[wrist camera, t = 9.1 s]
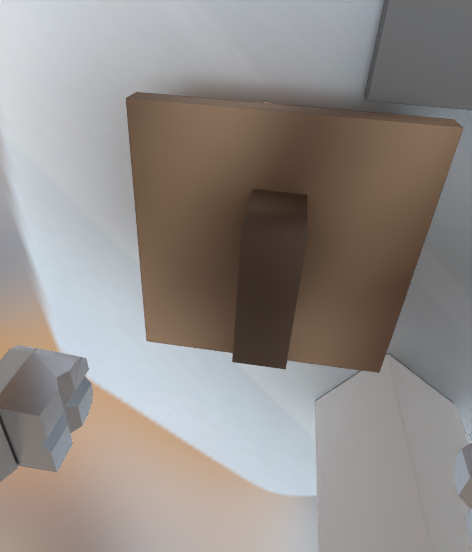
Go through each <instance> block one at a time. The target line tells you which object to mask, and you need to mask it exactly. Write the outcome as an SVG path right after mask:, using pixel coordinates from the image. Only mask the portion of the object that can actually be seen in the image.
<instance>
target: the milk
mask: <svg viewBox="0 0 472 552" xmlns="http://www.w3.org/2000/svg"><path fill="white" fill-rule="evenodd" d="M315 424H316V468H317V507H318V508H317V512H318V550H319V551H318V552H472V543H471V539H470V536H469V532H468V529H467V525H466V521H465V516H466V514H467V512H468V510H469V507H468V506H467V505H466V504H465V502H464V501H463V500H462V499H461V498H460V497H459V496H458V492H457V488H456V485H455V477H454V467H455V460H456V457H457V455H458V453H459V451H460V449H461V448H463V447H465V446H467V445H469V441H468V439H467V436H466V433H465V431H464V428H463V425H462V422H461V420H460V417H459V414H458V411H457V409H456V406H455V405H454V404H453V403H452V402H451V401H449V400H448V399H447V398H445V397H444V396H443V395H441V394H440V393H439V392H437V391H436V390H435V389H433V388H432V387H431V386H430V385H428V384H427V383H426V382H424V381H423V380H422V379H420V378H419V377H418V376H416V375H415V374H414V373H412V372H411V371H410V370H409V369H407V368H406V367H405V366H403V365H402V364H401V363H399V362H398V361H397V360H395V359H394V358H393V357H391V356H390V355H389V354H386V355H385V358H384V361H383V364H382V367H381V370H380V373H377V372H369V371H360V372H359V373H357V374H356V375H354V376H353V377H351V378H350V379H348V380H347V381H345V382H344V383H342V384H341V385H339V386H338V387H336V388H335V389H333V390H332V391H330V392H329V393H327V394H325V395H324V396H322V397H321V398H319V399H318V400H316V402H315Z"/></svg>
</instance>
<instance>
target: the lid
mask: <svg viewBox="0 0 472 552" xmlns="http://www.w3.org/2000/svg"><path fill="white" fill-rule="evenodd" d="M126 106H127V118H128V130H129V141H130V153H131V165H132V176H133V188H134V200H135V211H136V223H137V235H138V246H139V258H140V270H141V282H142V293H143V305H144V317H145V328H146V340H147V341H149V342H156V343H164V344H171V345H178V346H186V347H193V348H200V349H208V350H215V351H222V352H230V353H233V360H232V362H237V363H244V364H251V365H258V366H266V367H273V368H280V369H286V364H287V360H289V361H296V362H303V363H311V364H318V365H325V366H333V367H340V368H347V369H355V370H362V371H369V372H377V373H380V370H381V367H382V364H383V361H384V358H385V355H386V352H387V349H388V347H389V344H390V341H391V338H392V335H393V332H394V329H395V326H396V323H397V320H398V317H399V314H400V312H401V309H402V306H403V303H404V300H405V297H406V294H407V291H408V288H409V285H410V282H411V279H412V277H413V274H414V271H415V268H416V265H417V262H418V259H419V256H420V253H421V250H422V247H423V244H424V241H425V239H426V236H427V233H428V230H429V227H430V224H431V221H432V218H433V215H434V212H435V209H436V206H437V204H438V201H439V198H440V195H441V192H442V189H443V186H444V183H445V180H446V177H447V174H448V171H449V168H450V166H451V163H452V160H453V157H454V154H455V151H456V148H457V145H458V142H459V139H460V136H461V133H462V131H463V127H462V126H461V125H460V124H458V123H457V122H456V121H455V120H454V119H443V118H432V117H420V116H409V115H397V114H385V113H374V112H362V111H350V110H339V109H327V108H316V107H304V106H292V105H281V104H269V103H257V102H246V101H234V100H223V99H211V98H199V97H188V96H176V95H164V94H153V93H141V92H136V93H134V94H132V95H131V96H129V97H127V98H126Z"/></svg>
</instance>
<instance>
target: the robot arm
mask: <svg viewBox="0 0 472 552" xmlns="http://www.w3.org/2000/svg"><path fill="white" fill-rule="evenodd" d="M88 370H89V368H88V364H87V360H86V358H83V357H79V356H74V355H69V354H64V353H59V352H53V351H49V350H44V349H37V348H32V347H27V346H21V345H17V346H15V347H13V348H11V349H10V350H9V351H8V352H7V353H6V354H5V356H3V358H2V359H1V360H0V482H1V481H2V480H3V479H4V478H6V477H7V476H8V475H9V474H11V473H12V472H13V471H15V470H16V469H17V468H18V467H17V466H24V467H29V468H36V469H41V470H47V471H54V472H57V471H58V469H59V468H60V466H61V464H62V462H63V460H64V458H65V457H66V455H67V453H68V451H69V449H70V447H71V446H72V439H71V433H72V432H73V431H75V430H76V429H78V428H80V427H81V426H82V425H83V423H84V421H85V420H86V417H87V416H88V413H89V410H90V407H91V403H92V396H93V390H92V384H91V382H90V381H89V380H88V379H87V378H86V377H85V375H86V373H87V371H88ZM470 438H471V441H472V431H471V433H470ZM454 477H455V485H456V488H457V492H458V496H459V497H460V498H461V499H462V500H463V501H464V502H465V504H466V505H467V506H468V507H469V510H468V512H467V514H466V516H465V521H466V525H467V529H468V532H469V536H470V539H471V543H472V443H471V444H469V445H467V446H465V447H463V448H461V449H460V451H459V453H458V455H457V457H456V460H455V467H454Z"/></svg>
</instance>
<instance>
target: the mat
mask: <svg viewBox="0 0 472 552" xmlns="http://www.w3.org/2000/svg"><path fill="white" fill-rule="evenodd" d="M365 97H366V99H367V100H368V101H376V102H387V103H399V104H410V105H422V106H433V107H445V108H456V109H467V110H472V0H385V2H384V6H383V11H382V16H381V21H380V25H379V30H378V35H377V40H376V44H375V49H374V54H373V59H372V63H371V68H370V73H369V77H368V82H367V87H366V92H365Z"/></svg>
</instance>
